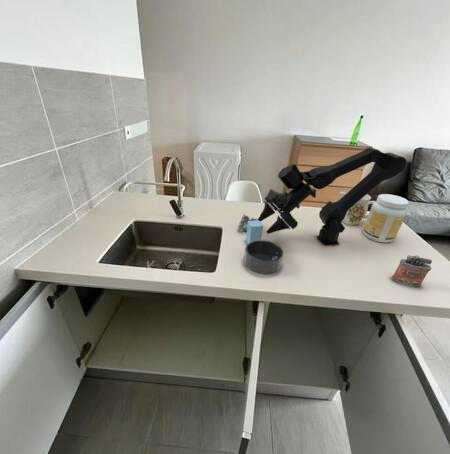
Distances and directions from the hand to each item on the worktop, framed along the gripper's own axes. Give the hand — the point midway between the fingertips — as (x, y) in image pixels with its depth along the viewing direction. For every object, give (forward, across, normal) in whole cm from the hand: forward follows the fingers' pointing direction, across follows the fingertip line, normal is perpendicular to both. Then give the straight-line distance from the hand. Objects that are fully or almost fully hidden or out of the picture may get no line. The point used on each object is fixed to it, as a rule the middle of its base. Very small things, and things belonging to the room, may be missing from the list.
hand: (262, 226), depth 90 cm
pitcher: (-29, -10, +40) cm, 51 cm away
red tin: (-22, +30, +33) cm, 49 cm away
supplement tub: (-31, +3, +42) cm, 53 cm away
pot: (+8, +13, +2) cm, 15 cm away
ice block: (+7, 0, +3) cm, 8 cm away
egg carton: (+6, -12, +5) cm, 14 cm away
